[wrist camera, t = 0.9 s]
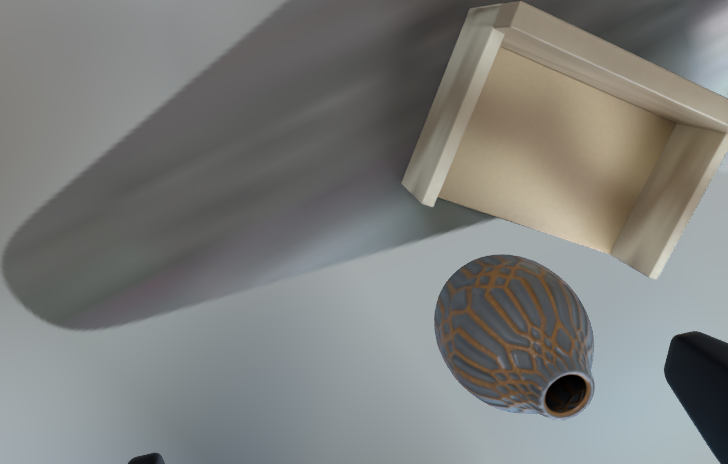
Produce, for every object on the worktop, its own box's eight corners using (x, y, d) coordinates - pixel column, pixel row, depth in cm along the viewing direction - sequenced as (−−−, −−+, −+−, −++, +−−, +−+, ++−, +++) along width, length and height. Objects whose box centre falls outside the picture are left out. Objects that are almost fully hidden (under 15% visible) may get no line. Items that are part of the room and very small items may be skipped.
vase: (550, 324, 31) (657, 425, 23) (439, 371, 30) (507, 491, 22) (524, 217, 28) (634, 289, 20) (402, 267, 28) (464, 361, 20)
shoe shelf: (613, 254, 30) (679, 293, 25) (400, 183, 26) (432, 214, 22) (689, 107, 28) (776, 121, 23) (469, 7, 24) (520, -1, 19)
